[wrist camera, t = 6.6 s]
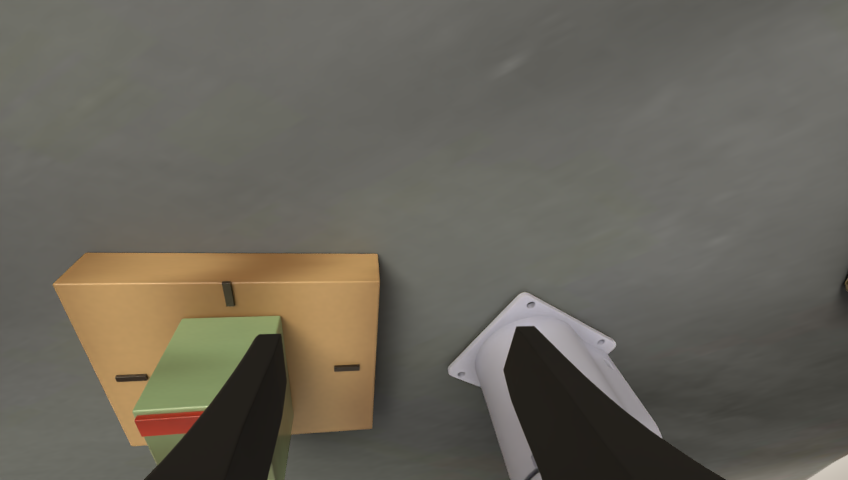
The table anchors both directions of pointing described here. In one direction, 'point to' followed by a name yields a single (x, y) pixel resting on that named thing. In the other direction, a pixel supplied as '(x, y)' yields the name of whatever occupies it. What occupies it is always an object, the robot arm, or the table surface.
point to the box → (203, 381)
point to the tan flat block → (233, 297)
